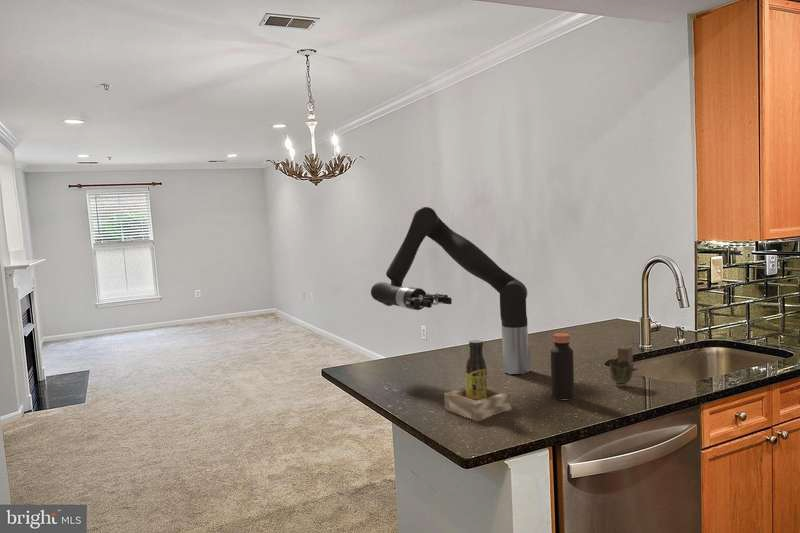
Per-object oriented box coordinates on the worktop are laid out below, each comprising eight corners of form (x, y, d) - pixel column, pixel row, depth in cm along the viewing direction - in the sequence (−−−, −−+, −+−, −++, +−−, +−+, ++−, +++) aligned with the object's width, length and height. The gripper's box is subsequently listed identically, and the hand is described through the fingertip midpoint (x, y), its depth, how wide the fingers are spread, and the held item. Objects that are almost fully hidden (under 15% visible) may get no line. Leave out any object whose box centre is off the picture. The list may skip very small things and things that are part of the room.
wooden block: (617, 369, 211) (617, 347, 211) (622, 366, 214) (622, 345, 213) (628, 371, 209) (628, 349, 208) (633, 368, 211) (632, 346, 211)
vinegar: (570, 402, 179) (569, 337, 177) (548, 399, 183) (547, 336, 181) (576, 395, 185) (575, 333, 183) (555, 392, 188) (554, 331, 186)
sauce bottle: (473, 411, 172) (471, 344, 170) (462, 405, 178) (459, 341, 176) (492, 407, 175) (489, 341, 173) (480, 401, 180) (477, 338, 179)
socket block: (478, 399, 186) (477, 383, 185) (511, 410, 174) (510, 393, 174) (444, 409, 178) (444, 393, 177) (476, 421, 166) (476, 404, 166)
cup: (633, 383, 194) (632, 360, 193) (634, 390, 187) (633, 366, 186) (609, 382, 196) (608, 359, 195) (609, 389, 189) (609, 365, 188)
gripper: (394, 289, 200) (423, 294, 187) (426, 285, 209) (456, 288, 196) (395, 311, 201) (424, 317, 188) (427, 306, 209) (457, 311, 196)
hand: (440, 302), depth 192 cm, fingers open, 8 cm apart
